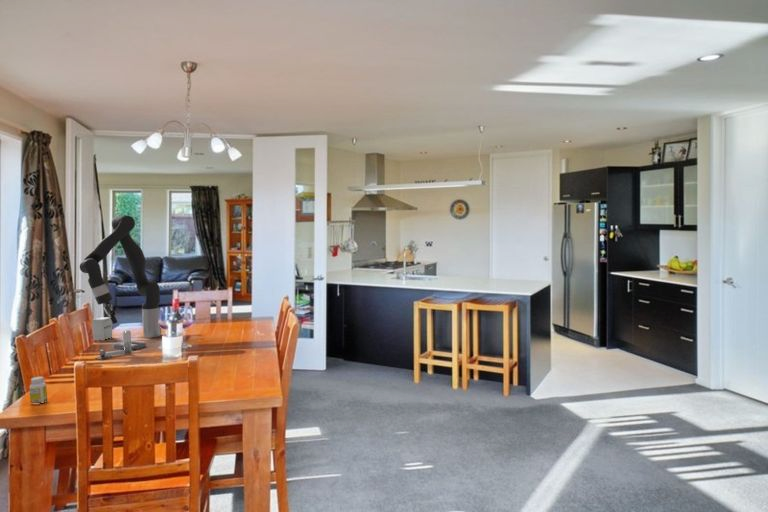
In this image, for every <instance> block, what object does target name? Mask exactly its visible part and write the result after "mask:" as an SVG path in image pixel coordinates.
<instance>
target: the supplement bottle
mask: <svg viewBox="0 0 768 512" xmlns="http://www.w3.org/2000/svg"><path fill="white" fill-rule="evenodd" d="M44 379H45V377H44V376H35V377H34V376H33V377H32V378H31V380H30V383H31V384H30V385H29V399H30V404H31V403H42V402H45V401H47V402H48V391H47V383H46V382H44Z"/></svg>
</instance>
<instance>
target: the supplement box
mask: <svg viewBox="0 0 768 512" xmlns="http://www.w3.org/2000/svg"><path fill="white" fill-rule="evenodd" d="M92 337H93V341H99V340H104V341H106V340H105V339H107V340H109V339H108V338H110V339H112V338H113V323H112V321H111V319H110V318H109V317H108V316H106V317H97V318H93V319H92ZM111 337H112V338H111ZM99 342H100V341H99Z"/></svg>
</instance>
